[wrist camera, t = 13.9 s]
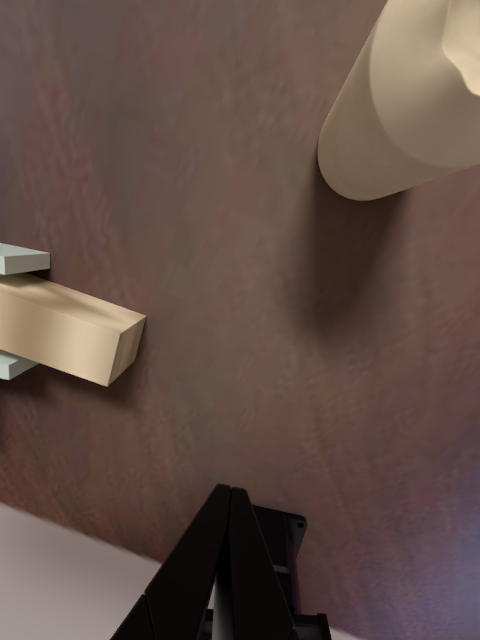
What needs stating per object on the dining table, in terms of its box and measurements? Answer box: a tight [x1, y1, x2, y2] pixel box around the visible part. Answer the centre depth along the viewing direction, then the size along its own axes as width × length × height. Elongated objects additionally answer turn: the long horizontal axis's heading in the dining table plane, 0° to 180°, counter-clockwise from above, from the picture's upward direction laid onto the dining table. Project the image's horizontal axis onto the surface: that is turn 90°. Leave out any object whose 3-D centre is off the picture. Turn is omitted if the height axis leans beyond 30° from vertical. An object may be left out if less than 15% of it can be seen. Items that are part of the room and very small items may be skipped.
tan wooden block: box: [0, 272, 146, 387], centre depth 18 cm, size 10×4×4 cm, turn 71°
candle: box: [318, 0, 480, 201], centre depth 11 cm, size 6×6×10 cm
